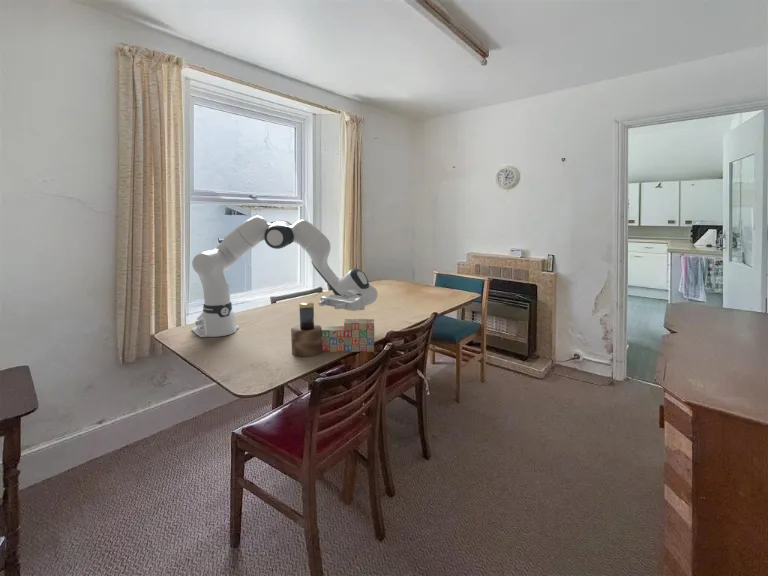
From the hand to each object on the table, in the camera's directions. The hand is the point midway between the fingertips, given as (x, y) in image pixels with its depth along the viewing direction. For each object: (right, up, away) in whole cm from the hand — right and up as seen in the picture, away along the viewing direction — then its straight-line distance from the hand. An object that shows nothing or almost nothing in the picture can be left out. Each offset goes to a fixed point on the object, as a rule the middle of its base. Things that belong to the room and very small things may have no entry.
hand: (327, 305), depth 161 cm
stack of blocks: (+9, -18, -2) cm, 20 cm away
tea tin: (-7, -9, -7) cm, 13 cm away
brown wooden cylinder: (-8, -19, -5) cm, 21 cm away
